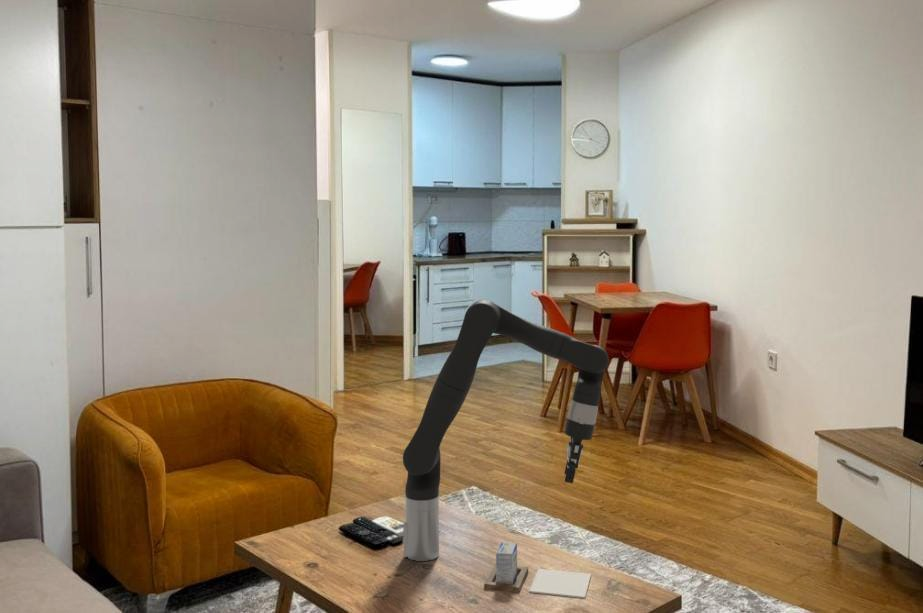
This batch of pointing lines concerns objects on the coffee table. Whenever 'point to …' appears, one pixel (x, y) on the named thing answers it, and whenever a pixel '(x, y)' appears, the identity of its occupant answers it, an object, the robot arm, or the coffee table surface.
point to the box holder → (503, 586)
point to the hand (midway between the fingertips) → (568, 478)
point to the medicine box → (506, 563)
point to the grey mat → (560, 583)
